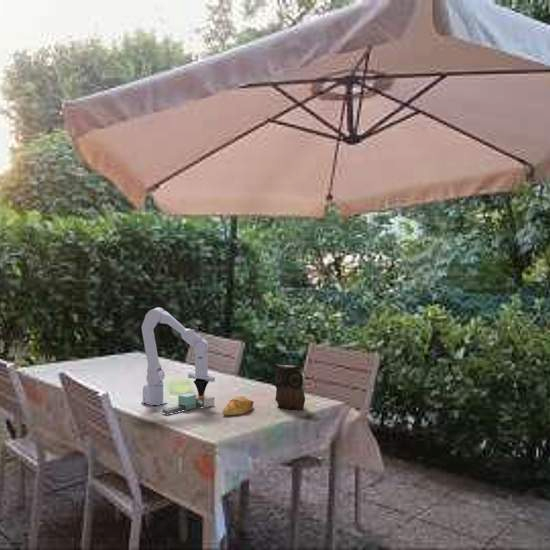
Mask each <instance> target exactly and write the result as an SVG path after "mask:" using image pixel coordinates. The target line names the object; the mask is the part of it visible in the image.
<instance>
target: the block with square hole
mask: <svg viewBox="0 0 550 550" xmlns="http://www.w3.org/2000/svg"><path fill="white" fill-rule="evenodd" d="M195 395H196V403H198V407H197V408H199V407H203V408H202V409H206V408H205V407H207V408H210V406H211V407H215V396H211V395H206V394H204V395H205V397H203V398H199V397H198V395H199V394H198V393H197V394H196V393H195Z"/></svg>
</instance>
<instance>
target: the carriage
mask: <svg viewBox="0 0 550 550" xmlns="http://www.w3.org/2000/svg"><path fill="white" fill-rule="evenodd" d="M177 399H178V400H177V402H178V404H177V406H179V405H184V406H185V410H186V411H189V410H188V409H190V410H193V409H196V408H195V407H196V393H195V394H194V393H190V392H186V393H184V394H178V398H177ZM192 408H193V409H192Z"/></svg>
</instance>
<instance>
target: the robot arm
mask: <svg viewBox="0 0 550 550" xmlns="http://www.w3.org/2000/svg"><path fill="white" fill-rule="evenodd" d="M158 323H159V324H166V325H168V326H170V327H171V328H172V329H174V330H175V331H176V332H178V333H179V334H180V335H181V339H182V340H184V341H185V343H187V344H188V345H189V346H191V347H192V348H193V350H194V353H195V356H194V357H195V359H194V360H195V361H194V362H195V364H194V373H188V374H187V377H188V379H195V380H193V383H194V385H195V387H196V390H197V394H199V396H203V395H205V391H206V389H207V388H206V387H208V385H209V382H211V383H214V382H216V380H215V379H216V377H214V376H211V375H209V374H208V371H209V370H208V369H209V365H208V363H209V359H208V358H209V355H208V350H209V346H210V345H209V341H208V340H207V339H205V338H203V337H202V336H200V335H198V334H197V333H196V331H195V329H193V328H192V329H191V328H186V327H185V326H184V325H182V324H181V322H180V321H178V320H177V319H176V318H175V317H174V316H172V315H171V314H170V313H169V312H168V311H166V310H165V309H164V308H163V307H155V308H153V309H150V310H149V311H148V312H147V313H146V314H145V317H144V320H143V322H142V324H141V333H142V338H143V344H144V350H145V355H146V361H147V367H146V372H147V374H146V382H147V383H145V384H144V385H143V387H142V401H140V403H141V404H144V403H146V404H145V405H148V404H150V405H149V406H152V405H157V406H161V405H160V404H162V405H165V404H164V403H166V404H168V401H164V381H163V380H164V379H165V375H166V374H165V371H164V370H163V369H162V365H161V363H160V361H159V355H158V350H157V342H156V338H155V333H154V329H155V327H157V325H158Z"/></svg>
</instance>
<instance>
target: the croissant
mask: <svg viewBox="0 0 550 550" xmlns="http://www.w3.org/2000/svg"><path fill="white" fill-rule="evenodd" d="M253 407H254V401H253V400H250V399H248V398H246V397H245V396H237V397H234V398H232V399H230V400H229V402H228V403H227V405H226V406H225V407H224V409H223V410H222V414H223V415H224V416H237V414H240V415H244V414H247V413H248V412H249V411H250V410H251V409H252V408H253Z"/></svg>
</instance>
